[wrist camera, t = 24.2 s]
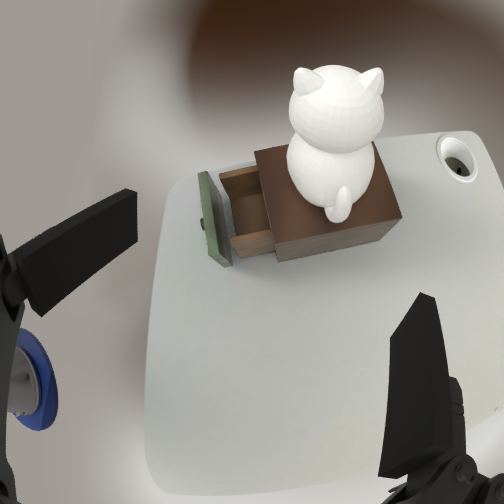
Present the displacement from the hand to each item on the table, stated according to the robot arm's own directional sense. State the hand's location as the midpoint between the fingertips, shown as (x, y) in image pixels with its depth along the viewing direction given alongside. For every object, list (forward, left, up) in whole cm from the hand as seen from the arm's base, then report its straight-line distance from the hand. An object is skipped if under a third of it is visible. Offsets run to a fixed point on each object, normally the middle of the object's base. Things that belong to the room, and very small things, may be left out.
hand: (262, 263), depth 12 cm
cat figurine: (+1, +14, -18) cm, 22 cm away
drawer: (-6, +9, -26) cm, 29 cm away
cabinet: (+1, +14, -27) cm, 30 cm away
